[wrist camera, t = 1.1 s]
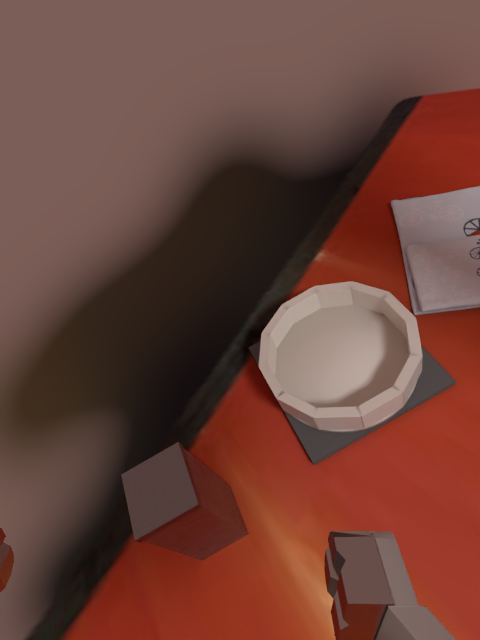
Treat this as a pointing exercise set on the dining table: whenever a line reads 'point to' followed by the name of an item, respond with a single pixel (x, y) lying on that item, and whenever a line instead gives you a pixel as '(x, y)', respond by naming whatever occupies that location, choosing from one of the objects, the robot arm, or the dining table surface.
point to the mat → (330, 443)
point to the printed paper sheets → (441, 249)
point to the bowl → (341, 357)
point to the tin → (182, 505)
